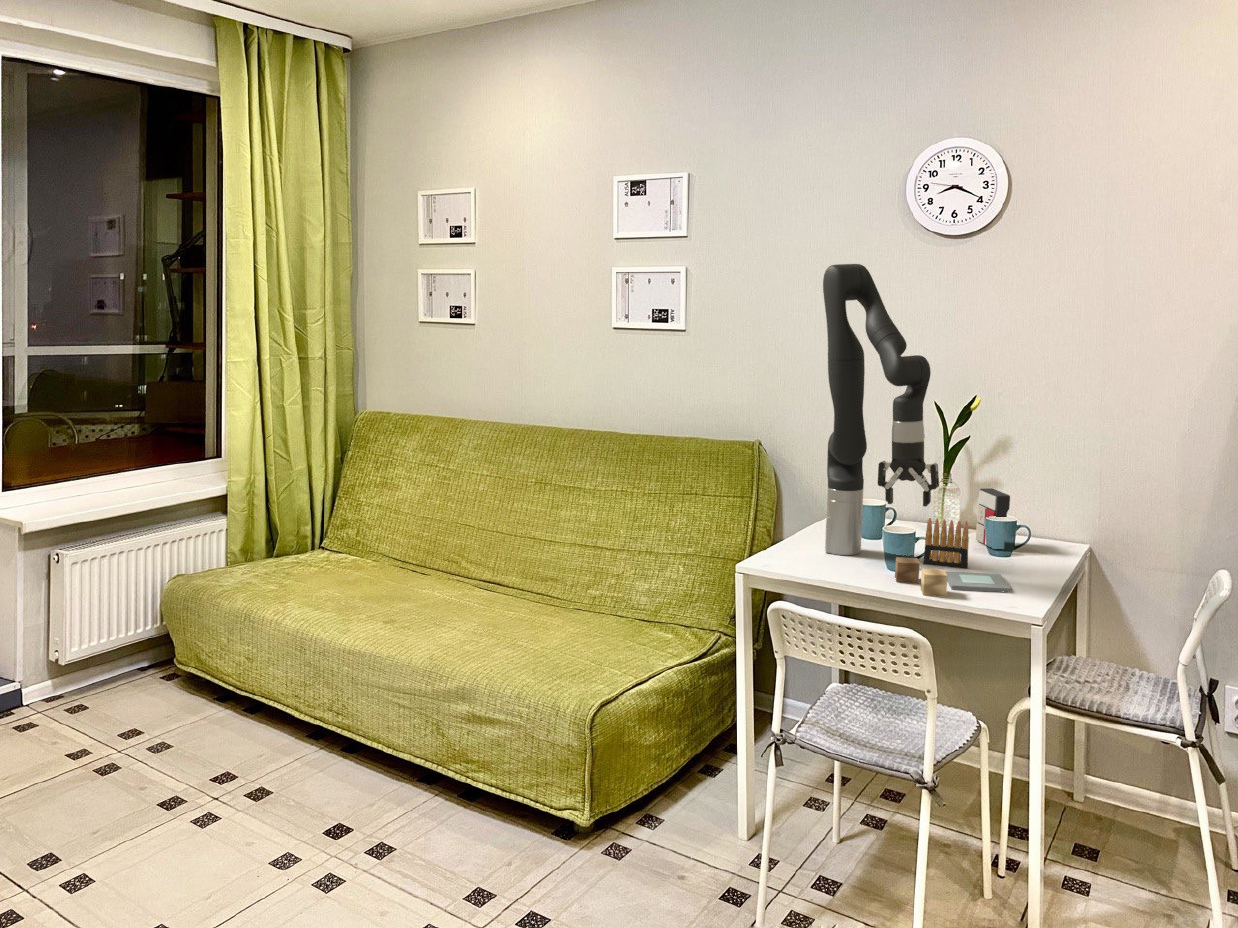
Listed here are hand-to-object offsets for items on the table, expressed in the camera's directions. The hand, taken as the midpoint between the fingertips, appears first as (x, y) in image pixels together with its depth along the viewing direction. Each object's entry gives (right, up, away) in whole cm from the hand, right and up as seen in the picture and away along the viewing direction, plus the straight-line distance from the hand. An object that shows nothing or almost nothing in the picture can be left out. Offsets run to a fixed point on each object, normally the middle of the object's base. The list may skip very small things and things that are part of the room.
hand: (908, 504), depth 247 cm
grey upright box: (+31, -13, +31) cm, 46 cm away
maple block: (+2, -20, -15) cm, 25 cm away
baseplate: (+14, -18, -7) cm, 24 cm away
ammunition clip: (+12, -16, +9) cm, 22 cm away
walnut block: (-2, -18, -4) cm, 19 cm away
